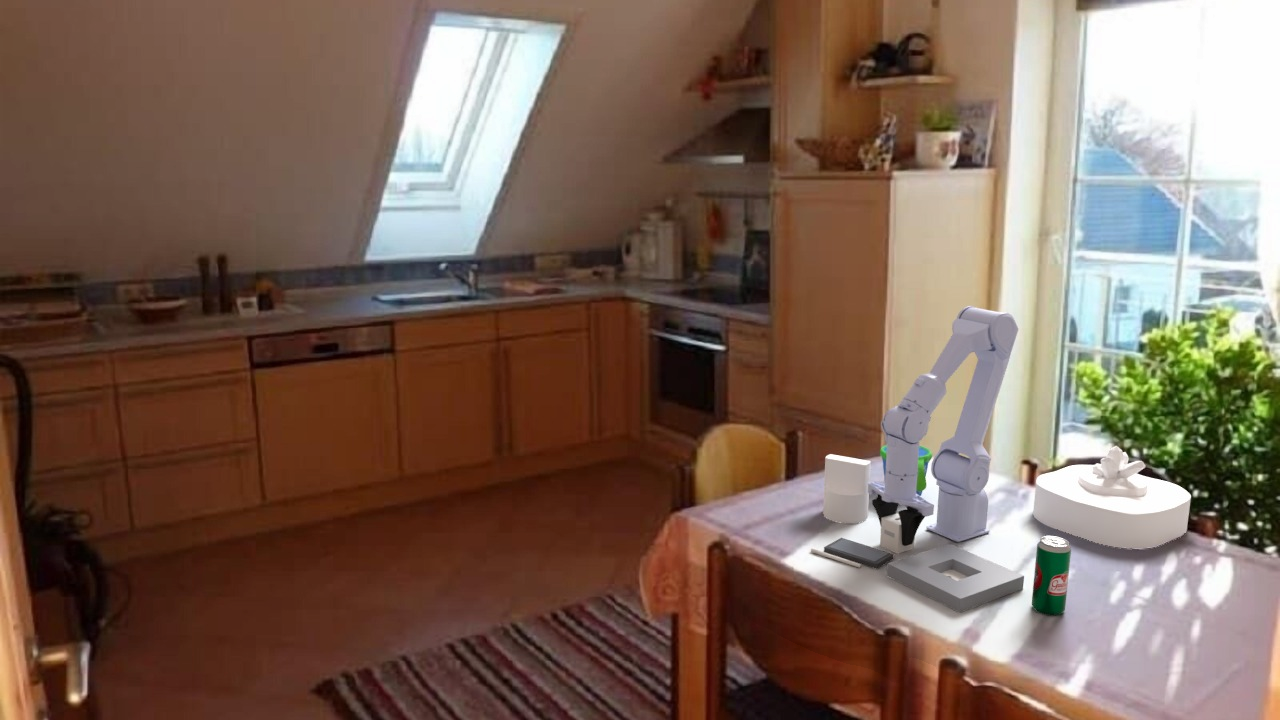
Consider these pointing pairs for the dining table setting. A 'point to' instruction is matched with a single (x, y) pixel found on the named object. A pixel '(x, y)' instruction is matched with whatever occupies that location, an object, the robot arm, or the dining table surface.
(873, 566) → the tablet with stylus
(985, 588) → the socket plate
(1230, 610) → the dining table surface
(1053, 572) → the soda can
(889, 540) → the brick
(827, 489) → the white rounded block
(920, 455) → the snack cup
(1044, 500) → the tissue box
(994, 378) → the robot arm
